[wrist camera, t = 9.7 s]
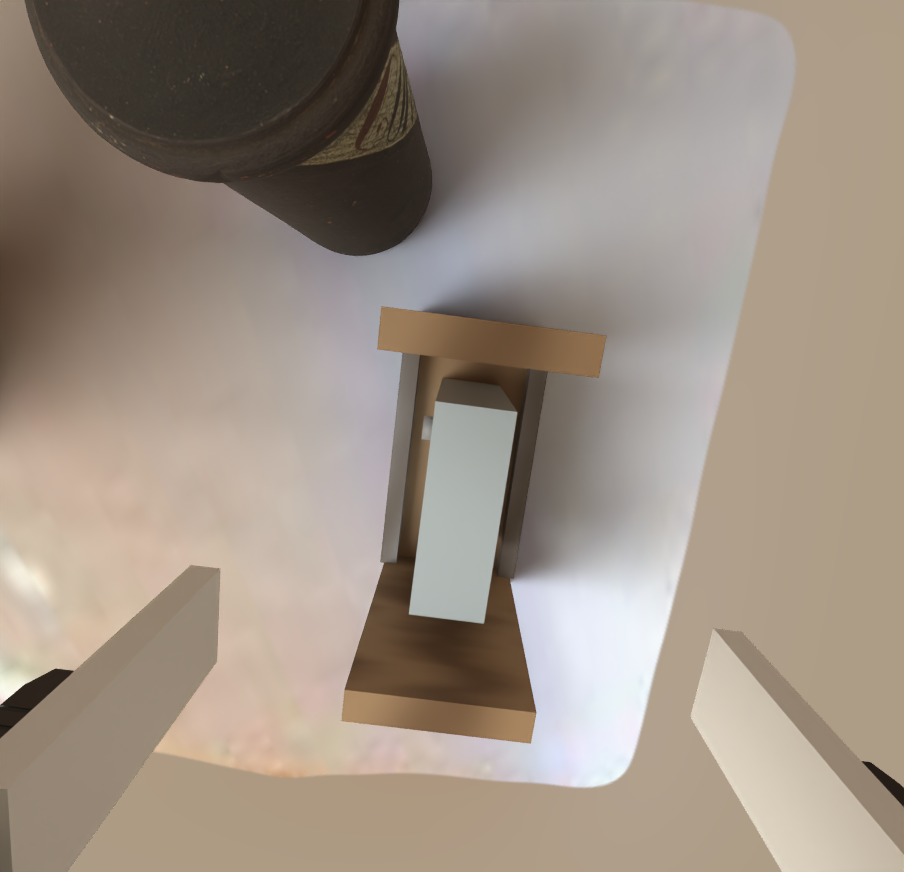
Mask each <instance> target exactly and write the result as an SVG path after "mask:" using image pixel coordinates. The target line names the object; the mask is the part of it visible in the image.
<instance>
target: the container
mask: <svg viewBox="0 0 904 872" xmlns="http://www.w3.org/2000/svg"><path fill="white" fill-rule="evenodd" d="M25 3H26V8H27V12H28V16H29V20H30V23H31V26H32V29H33V32H34V35H35V38H36V41H37V44H38V47H39V49H40V52H41V54H42V56H43V59H44V61H45V63H46V65H47V67H48V69H49V71H50V73H51V74H52V76H53V78H54V80H55V81H56V83H57V85H58V86H59V88H60V89H61V91H62V92H63V94H64V95H65V97H66V98H67V100H68V101H69V102H70V104H71V105H72V106H73V108H74V109H75V110H76V111H77V112H78V114H79V115H80V116H81V117H82V118H83V119H84V121H85V122H86V123H87V124H88V125H89V126H90V127H91V128H93V129H94V130H95V131H96V132H97V133H98V134H99V135H100V136H101V137H102V138H104V139H105V140H106V141H107V142H109V143H110V144H111V145H113V146H114V147H115V148H117V149H119V150H120V151H122V152H123V153H124V154H126V155H128V156H129V157H131V158H133V159H134V160H136V161H138V162H140V163H142V164H144V165H146V166H148V167H150V168H153V169H155V170H158V171H160V172H163V173H165V174H169V175H172V176H175V177H179V178H185V179H190V180H194V181H200V182H215V183H224V184H226V185H227V186H228V187H230V188H232V189H233V190H235V191H236V192H238V193H239V194H241V195H242V196H244V197H245V198H247V199H249V200H250V201H252V202H253V203H255V204H257V205H258V206H260V207H262V208H263V209H265V210H266V211H268V212H269V213H271V214H273V215H274V216H276V217H278V218H279V219H281V220H282V221H284V222H285V223H287V224H288V225H290V226H291V227H293V228H294V229H296V230H298V231H299V232H301V233H302V234H303V235H305V236H307V237H308V238H310V239H311V240H313V241H314V242H316V243H318V244H319V245H321V246H323V247H325V248H327V249H329V250H331V251H334V252H337V253H341V254H345V255H353V256H362V255H371V254H375V253H378V252H381V251H384V250H387V249H389V248H391V247H393V246H395V245H397V244H398V243H400V242H401V241H402V240H403V239H405V238H406V237H407V236H408V235H409V234H410V233H411V232H412V231H413V230H414V229H415V227H416V226H417V224H418V223H419V221H420V220H421V218H422V216H423V214H424V212H425V210H426V208H427V205H428V202H429V198H430V194H431V187H432V173H431V166H430V160H429V156H428V152H427V148H426V145H425V142H424V138H423V135H422V131H421V127H420V123H419V118H418V114H417V111H416V107H415V102H414V99H413V96H412V91H411V86H410V82H409V79H408V75H407V70H406V67H405V64H404V61H403V56H402V52H401V49H400V45H399V40H398V37H397V33H396V24H397V18H398V9H399V0H25Z"/></svg>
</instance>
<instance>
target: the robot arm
mask: <svg viewBox="0 0 904 872" xmlns="http://www.w3.org/2000/svg"><path fill="white" fill-rule="evenodd" d="M219 591H220V569H218V568H210V567H202V566H194V565H191V566H190V567H188V568H187V569H186V570H185V571H184V572H183V573H182V574H181V575H180V576H179V577H177V578H176V579H175V580H174V581H173V582H172V583H171V584H170V585H169V586H168V587H166V588H165V589H164V590H163V591H162V592H161V593H160V594H159V595H158V596H157V597H155V598H154V599H153V600H152V601H151V602H150V603H149V604H148V605H147V606H146V607H144V608H143V609H142V610H141V611H140V612H139V613H138V614H137V615H136V616H135V617H133V618H132V619H131V620H130V621H129V622H128V623H127V624H126V625H125V626H124V627H122V628H121V629H120V630H119V631H118V632H117V633H116V634H115V635H114V636H113V637H111V638H110V639H109V640H108V641H107V642H106V643H105V644H104V645H103V646H102V647H100V648H99V649H98V650H97V651H96V652H95V653H94V654H93V655H92V656H91V657H89V658H88V659H87V660H86V661H85V662H84V663H83V664H82V665H81V666H80V667H78V668H77V669H76V670H75V671H71V670H63V669H54V670H52V671H50V672H48V673H46V674H44V675H42V676H40V677H39V678H37V679H35V680H33V681H31V682H29V683H27V684H25V685H24V686H22V687H21V688H20V689H19V690H18V691H16V692H15V693H14V694H13V695H12V696H11V697H9V698H8V699H7V700H6V701H5V702H3V703H2V704H1V705H0V872H68V870H69V869H70V867H71V866H72V865H73V863H74V862H75V860H76V859H77V858H78V856H79V855H80V853H81V852H82V851H83V849H84V848H85V846H86V845H87V844H88V842H89V841H90V839H91V838H92V837H93V835H94V834H95V832H96V831H97V830H98V828H99V827H100V825H101V824H102V822H103V821H104V820H105V818H106V817H107V815H108V814H109V813H110V811H111V810H112V808H113V807H114V806H115V804H116V803H117V801H118V800H119V798H120V797H121V796H122V794H123V793H124V791H125V790H126V789H127V787H128V786H129V784H130V783H131V782H132V780H133V779H134V777H135V776H136V775H137V773H138V772H139V770H140V769H141V768H142V766H143V765H144V763H145V762H146V760H147V759H148V758H149V756H150V755H151V753H152V752H153V751H154V749H155V748H156V746H157V745H158V744H159V742H160V741H161V739H162V738H163V737H164V735H165V734H166V732H167V731H168V730H169V728H170V727H171V725H172V724H173V723H174V721H175V720H176V718H177V717H178V715H179V714H180V713H181V711H182V710H183V708H184V707H185V706H186V704H187V703H188V701H189V700H190V699H191V697H192V696H193V694H194V693H195V692H196V690H197V689H198V687H199V686H200V685H201V683H202V682H203V680H204V679H205V677H206V676H207V675H208V673H209V672H210V670H211V669H212V668H213V666H214V665H215V663H216V662H217V646H218V619H219ZM691 719H692V721H693V722H694V724H695V725H696V727H697V729H698V731H699V732H700V734H701V736H702V737H703V739H704V741H705V743H706V744H707V746H708V748H709V749H710V751H711V753H712V754H713V756H714V758H715V759H716V761H717V762H718V764H719V766H720V768H721V769H722V771H723V773H724V775H725V776H726V778H727V779H728V781H729V783H730V785H731V786H732V788H733V790H734V791H735V793H736V795H737V796H738V798H739V800H740V802H741V803H742V805H743V807H744V808H745V810H746V812H747V813H748V815H749V817H750V818H751V820H752V822H753V823H754V825H755V826H756V828H757V830H758V832H759V834H760V835H761V837H762V839H763V840H764V842H765V844H766V845H767V847H768V849H769V850H770V852H771V854H772V855H773V857H774V859H775V860H776V862H777V864H778V866H779V867H780V869H781V871H782V872H904V788H903V787H902V786H901V785H900V784H899V783H897V782H896V781H895V780H894V779H892V778H891V777H890V776H888V775H887V774H885V773H884V772H883V771H881V770H880V769H879V768H877V767H876V766H875V765H873V764H872V763H870V762H864V761H861V760H860V759H859V758H858V757H857V756H856V755H855V754H854V753H853V752H852V751H851V750H850V749H849V747H847V745H846V744H845V743H844V742H843V741H842V740H841V739H840V738H839V737H838V736H837V735H836V733H835V732H834V731H833V730H832V729H831V728H830V727H829V726H828V725H827V724H826V723H825V721H824V720H823V719H822V718H821V717H820V716H819V715H818V714H817V713H816V712H815V711H814V710H813V708H812V707H811V706H810V705H809V704H808V703H807V702H806V701H805V700H804V699H803V698H802V697H801V695H800V694H799V693H798V692H797V691H796V690H795V689H794V688H793V687H792V686H791V685H790V684H789V682H788V681H787V680H786V679H785V678H784V677H783V676H782V675H781V674H780V673H779V672H778V671H777V669H775V667H774V666H773V665H772V664H771V663H770V662H769V661H768V660H767V659H766V658H765V656H764V655H763V654H762V653H761V652H760V651H759V650H758V649H757V648H756V647H755V646H754V645H753V644H752V643H751V641H750V640H749V639H748V638H747V637H746V636H745V635H744V634H743V633H742V632H739V631H731V630H723V629H715V628H714V629H713V632H712V636H711V640H710V644H709V648H708V652H707V655H706V659H705V663H704V667H703V671H702V674H701V678H700V682H699V686H698V690H697V694H696V698H695V701H694V706H693V709H692V713H691Z"/></svg>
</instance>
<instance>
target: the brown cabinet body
mask: <svg viewBox="0 0 904 872" xmlns="http://www.w3.org/2000/svg"><path fill="white" fill-rule="evenodd" d="M605 341H606V336H605V335H597V334H590V333H582V332H574V331H567V330H559V329H551V328H544V327H536V326H528V325H521V324H513V323H505V322H498V321H490V320H482V319H475V318H467V317H459V316H452V315H444V314H436V313H429V312H421V311H413V310H406V309H398V308H390V307H383V306H381V317H380V327H379V337H378V348H377V349H379V350H387V351H395V352H402V353H403V355H402V364H401V373H400V383H399V392H398V402H397V411H396V420H395V430H394V439H393V449H392V458H391V467H390V477H389V486H388V496H387V505H386V514H385V524H384V533H383V542H382V552H381V561H380V562H383V563H384V565H383V569H382V572H381V575H380V578H379V581H378V585H377V588H376V591H375V594H374V597H373V601H372V604H371V607H370V610H369V613H368V617H367V620H366V623H365V626H364V629H363V633H362V636H361V639H360V642H359V645H358V649H357V652H356V655H355V658H354V661H353V665H352V668H351V671H350V674H349V677H348V681H347V684H346V687H345V691H344V701H343V711H342V721H346V722H354V723H363V724H371V725H380V726H388V727H396V728H405V729H413V730H422V731H430V732H438V733H447V734H455V735H464V736H472V737H480V738H489V739H497V740H506V741H514V742H522V743H531V739H532V734H533V728H534V723H535V717H536V709H535V704H534V699H533V694H532V689H531V684H530V679H529V674H528V669H527V664H526V659H525V654H524V649H523V644H522V639H521V634H520V629H519V624H518V619H517V614H516V609H515V604H514V599H513V594H512V589H511V584H510V579H509V578H512V579H513V578H514V571H515V565H516V559H517V553H518V547H519V541H520V535H521V529H522V523H523V517H524V511H525V505H526V499H527V493H528V487H529V481H530V475H531V468H532V462H533V456H534V450H535V444H536V438H537V432H538V426H539V420H540V414H541V408H542V402H543V396H544V390H545V384H546V378H547V372H548V371H549V372H557V373H565V374H573V375H580V376H588V377H596V378H599V373H600V368H601V362H602V357H603V352H604V346H605ZM442 378H448V379H456V380H463V381H471V382H478V383H486V384H494V385H500V387H501V388H502V390H503V391H504V393H505V394H506V396H507V397H508V399H509V400H510V402H511V403H512V405H513V406H514V408H515V409H516V411H517V419H516V425H515V431H514V438H513V444H512V450H511V456H510V463H509V469H508V475H507V481H506V488H505V494H504V500H503V507H502V513H501V519H500V525H499V532H498V538H497V544H496V551H495V557H494V563H493V569H492V576H491V582H490V588H489V595H488V601H487V607H486V613H485V620H484V624H482V623H474V622H466V621H459V620H451V619H443V618H435V617H427V616H419V615H411V614H409V609H410V601H411V593H412V585H413V577H414V569H415V561H416V553H417V545H418V537H419V529H420V521H421V513H422V505H423V497H424V489H425V481H426V473H427V465H428V457H429V449H430V441H431V440H423V439H422V429H423V422H424V416H431V417H434V409H435V401H436V398H437V395H438V391H439V388H440V385H441V381H442Z"/></svg>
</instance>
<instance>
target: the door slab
mask: <svg viewBox="0 0 904 872" xmlns="http://www.w3.org/2000/svg"><path fill="white" fill-rule="evenodd" d="M516 419H517V411H516V409H515V408H514V406H513V405H512V403H511V402H510V400H509V399H508V397H507V396H506V394H505V393H504V391H503V390H502V388H501V387H500V385H494V384H486V383H478V382H471V381H463V380H456V379H448V378H442V381H441V385H440V388H439V391H438V395H437V398H436V401H435V409H434V417H431V416H424V422H423V429H422V439H423V440H431V441H430V449H429V457H428V465H427V473H426V481H425V489H424V497H423V505H422V513H421V521H420V529H419V537H418V545H417V553H416V561H415V569H414V577H413V585H412V593H411V601H410V609H409V614H411V615H419V616H427V617H435V618H443V619H451V620H459V621H466V622H474V623H482V624H484V620H485V613H486V607H487V601H488V595H489V588H490V582H491V576H492V569H493V563H494V557H495V551H496V544H497V538H498V532H499V525H500V519H501V513H502V507H503V500H504V494H505V488H506V481H507V475H508V469H509V463H510V456H511V450H512V444H513V438H514V431H515V425H516Z"/></svg>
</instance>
